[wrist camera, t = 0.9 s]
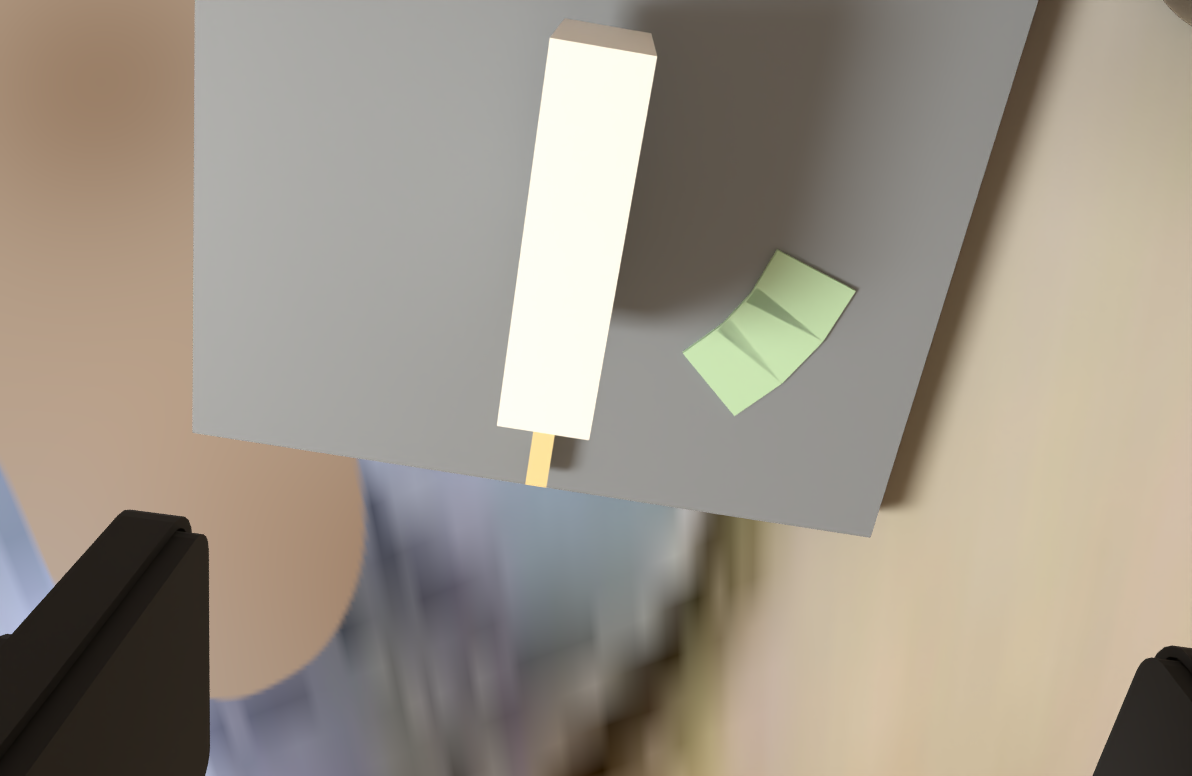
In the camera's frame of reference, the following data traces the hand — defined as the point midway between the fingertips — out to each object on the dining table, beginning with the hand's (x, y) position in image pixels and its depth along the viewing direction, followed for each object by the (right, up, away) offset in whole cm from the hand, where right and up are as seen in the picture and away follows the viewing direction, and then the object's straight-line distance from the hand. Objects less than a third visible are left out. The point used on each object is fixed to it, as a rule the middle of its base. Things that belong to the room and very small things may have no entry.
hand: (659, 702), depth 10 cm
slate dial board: (-1, +9, +18) cm, 20 cm away
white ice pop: (-1, +6, +17) cm, 18 cm away
